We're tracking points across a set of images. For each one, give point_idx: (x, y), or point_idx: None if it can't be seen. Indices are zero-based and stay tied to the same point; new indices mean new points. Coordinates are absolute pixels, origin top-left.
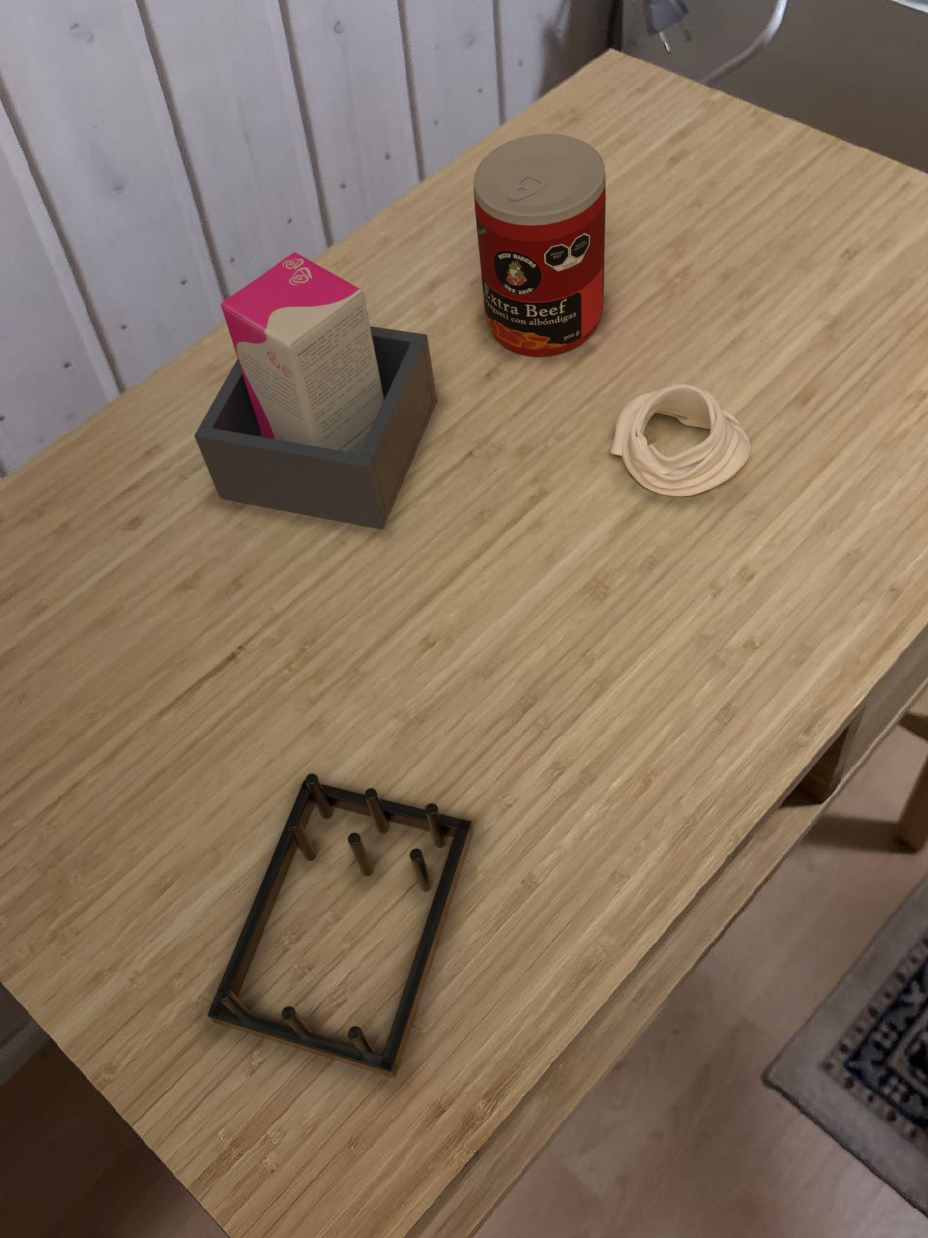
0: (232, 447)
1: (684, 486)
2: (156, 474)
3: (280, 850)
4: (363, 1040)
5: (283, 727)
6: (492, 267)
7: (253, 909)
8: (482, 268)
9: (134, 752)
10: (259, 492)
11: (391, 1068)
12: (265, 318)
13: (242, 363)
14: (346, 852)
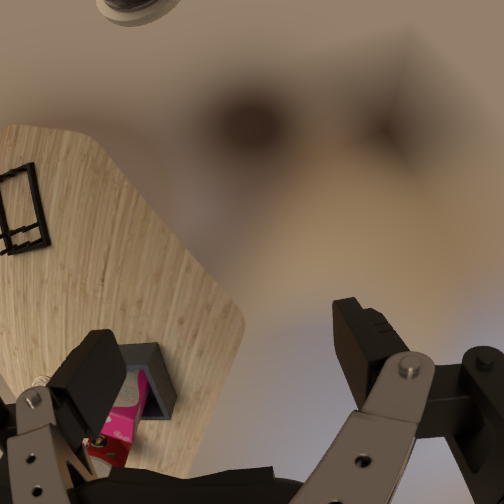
0: (132, 363)
1: (37, 378)
2: (190, 344)
3: (38, 220)
4: None
5: (70, 261)
6: (108, 443)
7: (34, 198)
8: (117, 442)
9: (106, 229)
10: (135, 348)
11: None
12: (110, 416)
13: (137, 398)
14: (32, 230)
